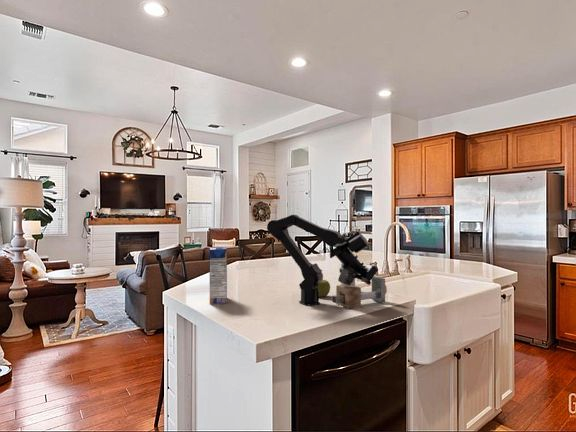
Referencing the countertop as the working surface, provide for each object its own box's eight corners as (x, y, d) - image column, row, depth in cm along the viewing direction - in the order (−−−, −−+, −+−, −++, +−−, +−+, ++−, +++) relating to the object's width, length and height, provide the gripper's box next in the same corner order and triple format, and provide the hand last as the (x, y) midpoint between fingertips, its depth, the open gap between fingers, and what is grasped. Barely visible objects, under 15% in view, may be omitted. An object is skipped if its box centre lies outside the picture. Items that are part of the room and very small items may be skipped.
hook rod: (338, 308, 135) (338, 282, 135) (329, 304, 141) (329, 280, 141) (387, 301, 146) (387, 278, 146) (377, 298, 151) (377, 276, 151)
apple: (328, 299, 153) (328, 282, 153) (310, 297, 155) (310, 281, 155) (331, 295, 160) (331, 279, 160) (314, 294, 162) (314, 278, 162)
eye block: (348, 308, 136) (348, 289, 136) (336, 304, 143) (336, 285, 143) (360, 307, 138) (360, 287, 139) (348, 302, 146) (348, 284, 146)
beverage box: (209, 304, 143) (209, 249, 144) (210, 298, 154) (210, 247, 154) (226, 303, 145) (226, 249, 145) (226, 297, 156) (226, 247, 156)
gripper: (322, 270, 146) (344, 294, 151) (349, 277, 129) (373, 304, 134) (338, 250, 150) (359, 275, 154) (366, 254, 133) (389, 281, 138)
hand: (369, 284), depth 145 cm, fingers closed
